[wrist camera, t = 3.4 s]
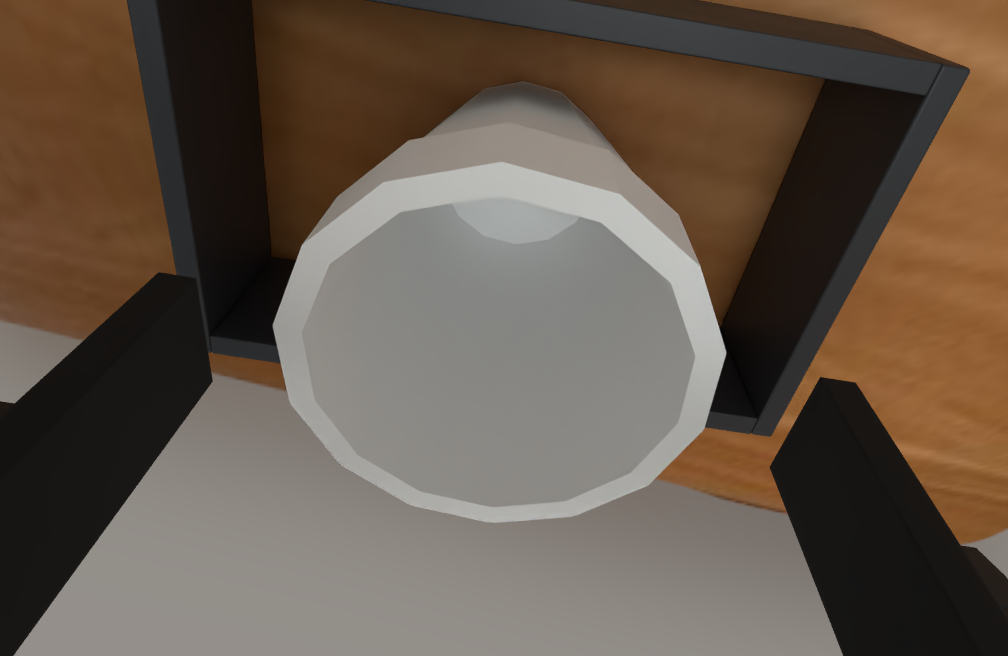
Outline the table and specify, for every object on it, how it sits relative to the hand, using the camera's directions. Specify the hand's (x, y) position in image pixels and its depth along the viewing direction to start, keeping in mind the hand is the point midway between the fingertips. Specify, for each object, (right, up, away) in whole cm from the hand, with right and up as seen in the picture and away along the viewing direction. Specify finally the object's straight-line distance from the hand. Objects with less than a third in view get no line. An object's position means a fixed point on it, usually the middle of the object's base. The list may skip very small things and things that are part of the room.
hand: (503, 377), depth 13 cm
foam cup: (+1, +7, +11) cm, 13 cm away
